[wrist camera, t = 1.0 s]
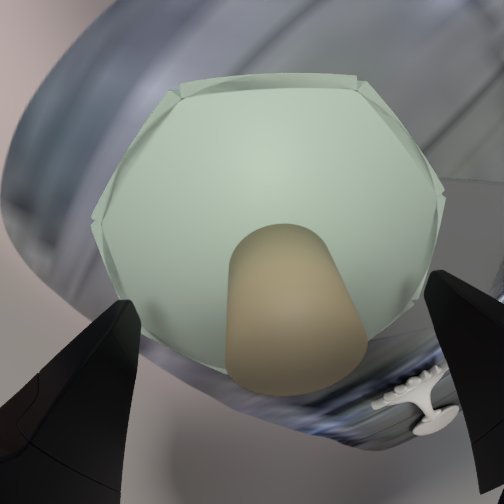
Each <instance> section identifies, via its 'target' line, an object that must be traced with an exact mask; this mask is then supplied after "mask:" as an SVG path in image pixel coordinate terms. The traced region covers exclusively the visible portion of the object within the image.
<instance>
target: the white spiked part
mask: <svg viewBox="0 0 504 504" xmlns="http://www.w3.org/2000/svg"><path fill="white" fill-rule="evenodd" d="M448 369H449V368H448V365H447V362H446V359H445V360H444V361H443V362H442V363H441V364H439V365H438V366H437V365H434V366H433V367H432V368H431V369H429V370H428V371H426V370H423V371H422V373H421V374H420V375H418V376H416V377H410V378H409V379H408V380H407V382H406V383H405V384H402V385H398V386H395V387H394V390H393V391H390V392H387V393H385V394H384V395H383V396H384V397H382V398H380V399H377V400H372V401H371V406H372V408H373V409H375V410H376V409H379V408H382V407H384V406H386V405H395V404H399V403H403V402H412V403H415V404H416V405H417V406H418V407H419V408H420V409H421V410H422V411H423V413H424V414H425V416H424V417H423V418H422V420H421V421H420V422H419V423H418V424H417V425H416V426H415V427H414V429H413V434H415V435H427V434H431V433H434V432H436V431H438V430H440V429H442V428H443V427H445V426H446V425H448V424H449V423H450V422H451V421H452V420H453V419H454V418H455V416H456V415H457V413H458V412H459V407H458V406H456V405H452V406H447V407H443V408H440V409H437V410H433V408H432V405H431V401H430V393H431V390H432V388H433V386H434V385H435V384H436V383H437V382H438V381H439V379H440V378H441V377H442V376H443V374H444V373H445V371H446V370H448Z"/></svg>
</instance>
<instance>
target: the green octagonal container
mask: <svg viewBox="0 0 504 504" xmlns="http://www.w3.org/2000/svg"><path fill="white" fill-rule="evenodd" d="M179 86H180V90H168V92H167V93H166V94H165V96H164V97H163V98H162V100H161V101H160V102H159V104H158V105H157V107H156V108H155V109H154V111H153V112H152V114H151V115H150V116H149V118H148V119H147V121H146V122H145V124H144V125H143V127H142V128H141V130H140V131H139V133H138V134H137V136H136V137H135V139H134V140H133V142H132V144H131V145H130V147H129V148H128V150H127V152H126V153H125V155H124V157H123V158H122V160H121V162H120V163H119V165H118V167H117V168H116V170H115V172H114V174H113V175H112V177H111V179H110V181H109V183H108V185H107V186H106V188H105V190H104V192H103V194H102V196H101V198H100V200H99V202H98V204H97V206H96V208H95V210H94V212H93V214H92V216H91V218H92V219H94V220H95V221H94V222H93V223H92V225H91V229H92V232H93V234H94V237H95V240H96V243H97V246H98V248H99V251H100V254H101V256H102V259H103V261H104V264H105V267H106V269H107V271H108V274H109V276H110V279H111V281H112V283H113V286H114V288H115V290H116V293H117V295H118V297H119V299H120V300H124V299H129V300H131V301H132V302H133V304H134V306H135V308H136V310H137V313H138V315H139V317H140V320H141V334H143V335H145V336H147V337H148V338H150V339H152V340H154V341H156V342H158V343H160V344H162V345H164V346H166V347H168V348H170V349H172V350H174V351H176V352H178V353H180V354H182V355H184V356H186V357H188V358H190V359H192V360H194V361H197V362H199V363H201V364H203V365H205V366H208V367H210V368H212V369H214V370H217V371H219V372H221V373H224V374H229V376H230V377H231V379H232V380H233V381H234V382H235V383H237V384H238V385H239V386H241V387H243V388H244V389H247V390H249V391H251V392H255V393H258V394H262V395H268V396H296V395H302V394H307V393H311V392H315V391H318V390H321V389H324V388H326V387H328V386H331V385H333V384H335V383H336V382H338V381H340V380H342V379H343V378H345V377H346V376H347V375H349V374H350V373H351V372H352V371H353V370H354V369H355V368H356V367H357V366H358V365H359V364H360V362H361V361H362V359H363V358H364V356H365V353H366V351H367V347H368V341H369V340H370V339H371V338H373V337H374V336H375V335H377V334H378V333H379V332H381V331H382V330H383V329H385V328H386V327H387V326H389V325H390V324H391V323H392V322H394V321H395V320H396V319H397V318H399V317H400V316H401V315H402V314H404V313H405V312H406V311H407V310H408V309H410V308H411V307H412V306H413V305H414V303H413V302H412V300H417V299H419V296H420V293H421V290H422V287H423V284H424V281H425V278H426V275H427V272H428V269H429V265H430V262H431V259H432V255H433V252H434V248H435V244H436V240H437V236H438V232H439V228H440V224H441V220H442V215H443V210H444V205H445V200H446V197H444V196H443V195H442V193H443V192H444V190H445V189H444V187H443V185H442V184H441V182H440V180H439V179H438V177H437V175H436V174H435V172H434V170H433V169H432V167H431V165H430V164H429V162H428V161H427V159H426V158H425V156H424V155H423V153H422V152H421V150H420V149H419V147H418V146H417V144H416V143H415V141H414V140H413V138H412V137H411V136H410V134H409V133H408V131H407V130H406V129H405V127H404V126H403V125H402V123H401V122H400V121H399V119H398V118H397V117H396V115H395V114H394V113H393V112H392V110H391V109H390V108H389V107H388V105H387V104H386V103H385V102H384V101H383V99H382V98H381V97H380V96H379V95H378V93H377V92H376V91H375V90H374V89H373V88H372V87H371V85H370V84H369V83H368V82H367V81H357V76H353V75H340V74H321V73H271V74H252V75H239V76H229V77H220V78H212V79H204V80H198V81H191V82H185V83H180V84H179Z"/></svg>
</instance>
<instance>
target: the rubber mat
mask: <svg viewBox="0 0 504 504" xmlns="http://www.w3.org/2000/svg"><path fill="white" fill-rule="evenodd" d="M438 179H439V180H440V182H441V184H442V185H443V187H444V189H445V190H444V192H443V193H442V195H443V196H444V197H446V200H445V205H444V210H443V215H442V220H441V224H440V228H439V232H438V236H437V240H436V244H435V248H434V252H433V255H432V259H431V262H430V265H429V269H428V272H427V275H426V278H425V281H424V284H423V287H422V290H421V293H420V296H419V299H417V300H412V302H413V303H414V305H413V306H412V307H411V308H410V309H408V310H407V311H406V312H405V313H404V314H402V315H401V316H400V317H399V318H397V319H396V320H395V321H394V322H392V323H391V324H390V325H389V326H387V327H386V328H385V329H383V330H382V331H381V332H379V333H378V334H377V335H375V336H374V337H373V338H371V339H370V340H369V341H371V340H376V339H381V338H386V337H391V336H396V335H400V334H404V333H409V332H413V331H417V330H421V329H425V328H429V327H433V323H432V320H431V317H430V314H429V311H428V308H427V305H426V303H425V300H424V289H425V286H426V283H427V280H428V277H429V274H430V273H431V272H432V271H434V270H440V269H442V270H445V271H446V272H448V273H450V274H452V275H454V276H456V277H457V278H459V279H461V280H463V281H465V282H467V283H468V284H470V285H472V286H474V287H475V288H477V289H479V290H481V291H482V292H484V293H486V294H489V292H490V290H491V287H492V285H493V283H494V281H495V278H496V276H497V273H498V271H499V268H500V266H501V263H502V261H503V258H504V183H499V182H489V181H477V180H463V179H446V178H438Z"/></svg>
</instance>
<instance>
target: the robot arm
mask: <svg viewBox="0 0 504 504" xmlns="http://www.w3.org/2000/svg"><path fill="white" fill-rule="evenodd" d="M424 300H425V303H426V305H427V308H428V311H429V314H430V317H431V320H432V323H433V327H434V330H435V333H436V336H437V339H438V341H439V344H440V347H441V349H442V352H443V354H444V357H445V359H446V362H447V365H448V368H449V370H450V373H451V376H452V379H453V382H454V385H455V388H456V391H457V394H458V397H459V400H460V404H461V407H462V410H463V414H464V417H465V421H466V425H467V429H468V433H469V437H470V441H471V444H472V445H471V446H472V450H473V456H474V460H475V466H476V472H477V478H478V485H479V492H480V494H484V493H486V492H488V491H491V490H493V489H495V488H497V487H499V486H501V485H503V484H504V304H503V303H501V302H499V301H498V300H496V299H494V298H493V297H491V296H489V295H488V294H486V293H484V292H482V291H481V290H479V289H477V288H475V287H474V286H472V285H470V284H468V283H467V282H465V281H463V280H461V279H459V278H457V277H456V276H454V275H452V274H450V273H448V272H446V271H445V270H442V269H440V270H434V271H432V272H431V273H430V274H429V277H428V280H427V283H426V286H425V289H424ZM140 335H141V320H140V317H139V315H138V313H137V310H136V308H135V306H134V304H133V302H132V301H131V300H129V299H124V300H117V301H116V302H115V303H114V304H113V305H111V306H110V307H109V308H108V309H107V310H106V311H105V312H103V313H102V314H101V315H100V316H99V317H98V318H97V319H95V320H94V321H93V322H92V323H91V324H90V325H89V326H88V327H87V328H85V329H84V330H83V331H82V332H81V333H80V334H79V335H78V336H77V337H75V338H74V339H73V340H72V341H71V342H70V343H69V344H68V345H67V346H66V347H65V348H63V349H62V350H61V351H60V352H59V353H58V354H57V355H56V356H55V357H54V358H53V359H52V360H51V361H50V362H49V363H48V364H47V365H46V366H44V367H43V368H42V369H41V370H40V372H39V373H37V374H36V375H35V376H34V377H33V378H32V379H31V380H30V381H29V382H28V383H27V384H26V385H25V386H24V387H23V388H22V389H21V390H20V391H19V392H17V393H16V394H15V395H14V396H13V397H12V398H11V399H9V400H8V401H7V402H6V403H5V404H4V405H3V406H2V407H0V504H120V497H121V492H120V491H121V481H122V470H123V460H124V451H125V443H126V434H127V428H128V421H129V414H130V408H131V402H132V396H133V390H134V385H135V380H136V373H137V366H138V355H139V345H140ZM498 504H504V489H503V491H502V494H501V496H500V499H499V502H498Z"/></svg>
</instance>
